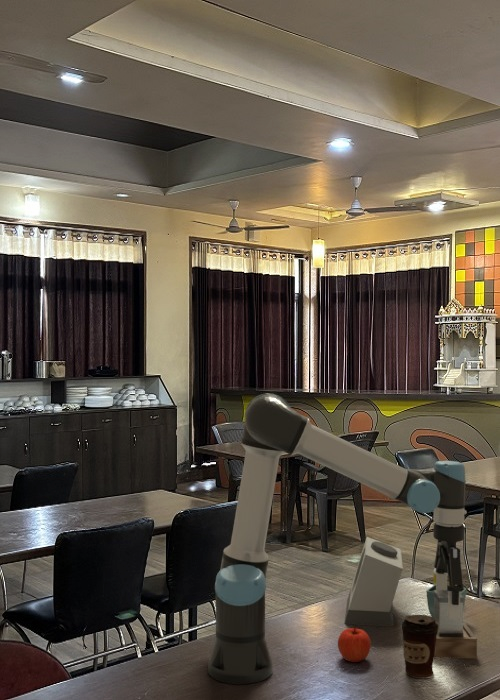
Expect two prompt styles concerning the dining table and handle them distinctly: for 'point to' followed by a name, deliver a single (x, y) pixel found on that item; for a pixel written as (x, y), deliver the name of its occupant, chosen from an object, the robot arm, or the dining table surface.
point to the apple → (354, 644)
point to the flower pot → (431, 598)
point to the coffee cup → (419, 644)
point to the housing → (445, 623)
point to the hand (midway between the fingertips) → (447, 607)
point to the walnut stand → (457, 645)
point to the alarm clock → (374, 585)
